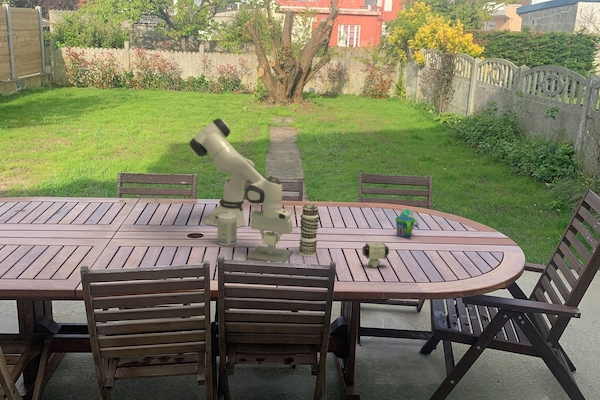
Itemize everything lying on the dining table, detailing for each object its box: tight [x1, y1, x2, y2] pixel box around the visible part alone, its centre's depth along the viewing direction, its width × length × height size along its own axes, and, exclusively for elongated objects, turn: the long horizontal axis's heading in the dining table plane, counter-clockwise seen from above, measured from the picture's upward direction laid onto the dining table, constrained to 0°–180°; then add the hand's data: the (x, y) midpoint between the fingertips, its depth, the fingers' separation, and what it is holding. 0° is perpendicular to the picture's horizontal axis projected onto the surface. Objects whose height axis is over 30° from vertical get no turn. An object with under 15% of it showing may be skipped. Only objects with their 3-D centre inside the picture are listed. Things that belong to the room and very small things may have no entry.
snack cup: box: [395, 215, 416, 238], centre depth 336 cm, size 16×10×10 cm
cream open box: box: [262, 231, 279, 246], centre depth 291 cm, size 6×6×5 cm
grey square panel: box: [246, 245, 294, 264], centre depth 292 cm, size 18×18×6 cm
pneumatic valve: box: [361, 242, 390, 268], centre depth 286 cm, size 6×12×12 cm, turn 99°
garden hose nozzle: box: [399, 207, 419, 230], centre depth 361 cm, size 7×18×20 cm
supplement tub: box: [217, 213, 238, 247], centre depth 306 cm, size 10×10×15 cm
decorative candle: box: [298, 203, 320, 257], centre depth 297 cm, size 9×9×25 cm
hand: (270, 239), depth 291 cm, fingers closed on cream open box, 6 cm apart
